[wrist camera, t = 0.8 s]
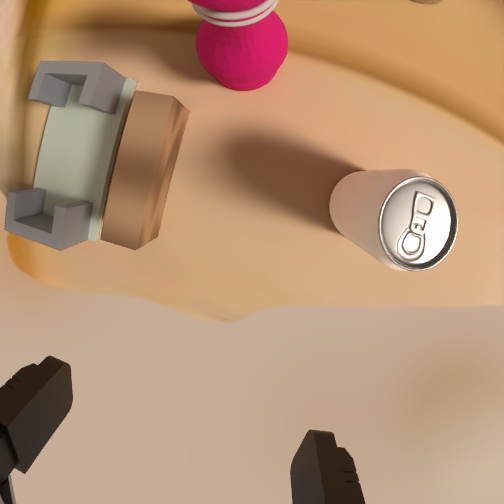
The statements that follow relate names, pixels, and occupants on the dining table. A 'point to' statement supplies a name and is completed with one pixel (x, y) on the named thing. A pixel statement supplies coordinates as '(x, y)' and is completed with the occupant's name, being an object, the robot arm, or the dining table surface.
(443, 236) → the can
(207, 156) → the dining table surface
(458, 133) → the dining table surface
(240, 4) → the pepper mill
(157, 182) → the slat
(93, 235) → the holder
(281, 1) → the dining table surface
